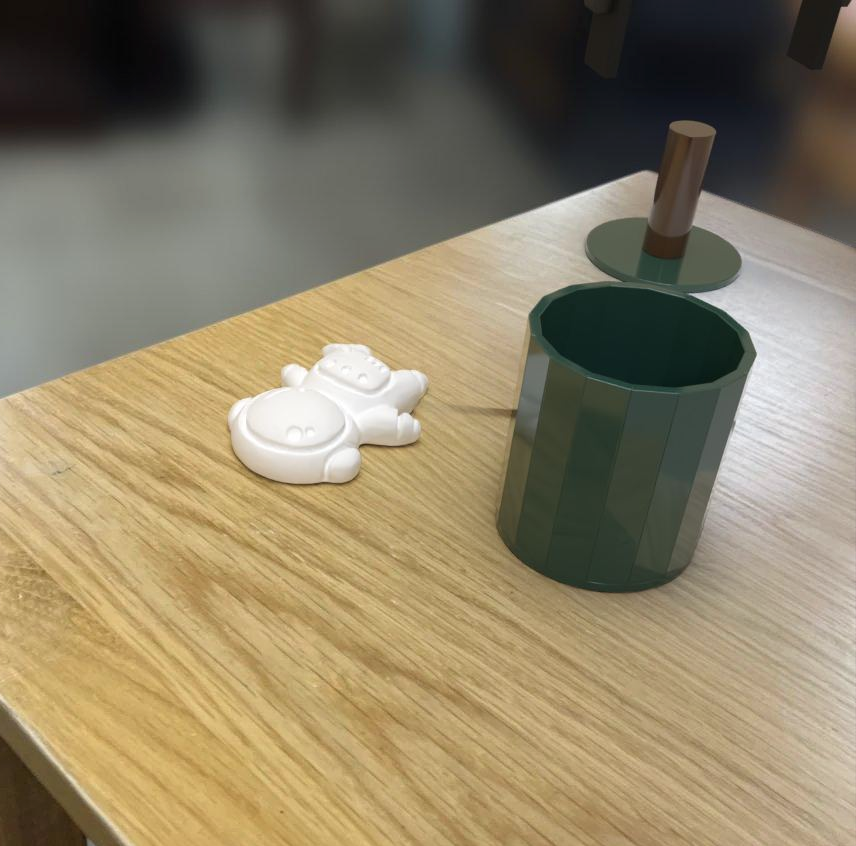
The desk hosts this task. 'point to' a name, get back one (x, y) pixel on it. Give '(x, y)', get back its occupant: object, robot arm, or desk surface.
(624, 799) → the desk surface
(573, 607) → the desk surface
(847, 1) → the robot arm
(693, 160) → the lid
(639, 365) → the canister
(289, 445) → the white cartoon animal figure
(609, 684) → the desk surface
